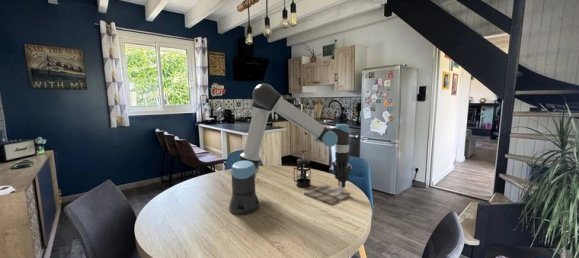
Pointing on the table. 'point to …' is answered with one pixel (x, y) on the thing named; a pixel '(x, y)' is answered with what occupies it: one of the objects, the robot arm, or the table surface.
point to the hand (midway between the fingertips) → (341, 192)
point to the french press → (303, 172)
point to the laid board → (322, 197)
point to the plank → (332, 192)
